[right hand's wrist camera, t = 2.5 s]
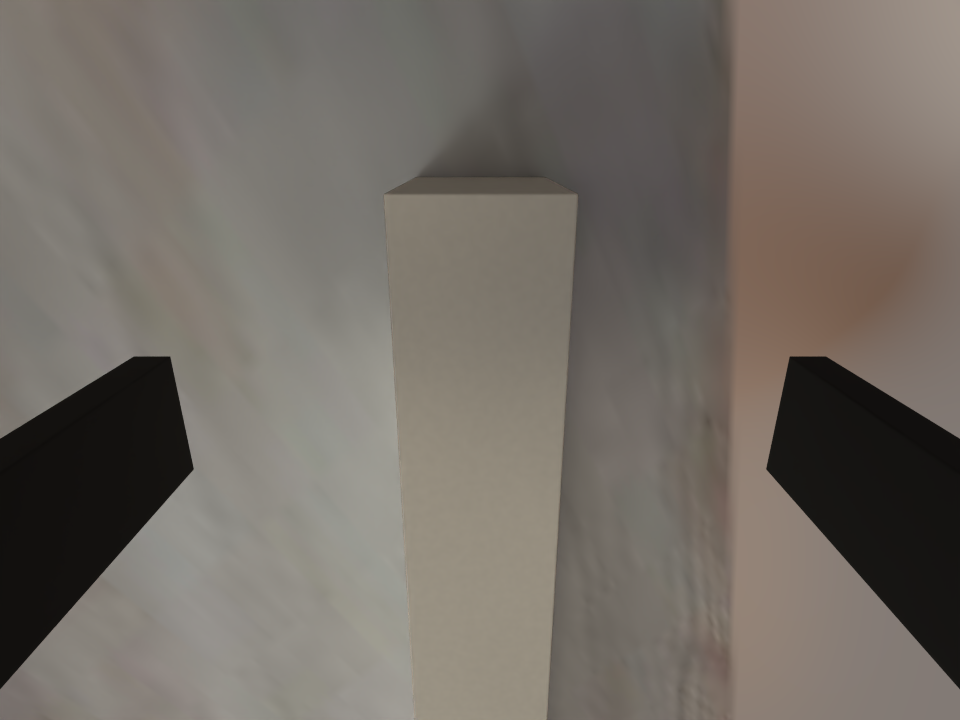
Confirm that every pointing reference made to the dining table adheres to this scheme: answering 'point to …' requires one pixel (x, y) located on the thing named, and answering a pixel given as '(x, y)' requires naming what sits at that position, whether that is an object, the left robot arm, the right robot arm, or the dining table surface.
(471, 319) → the beam
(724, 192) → the dining table surface
